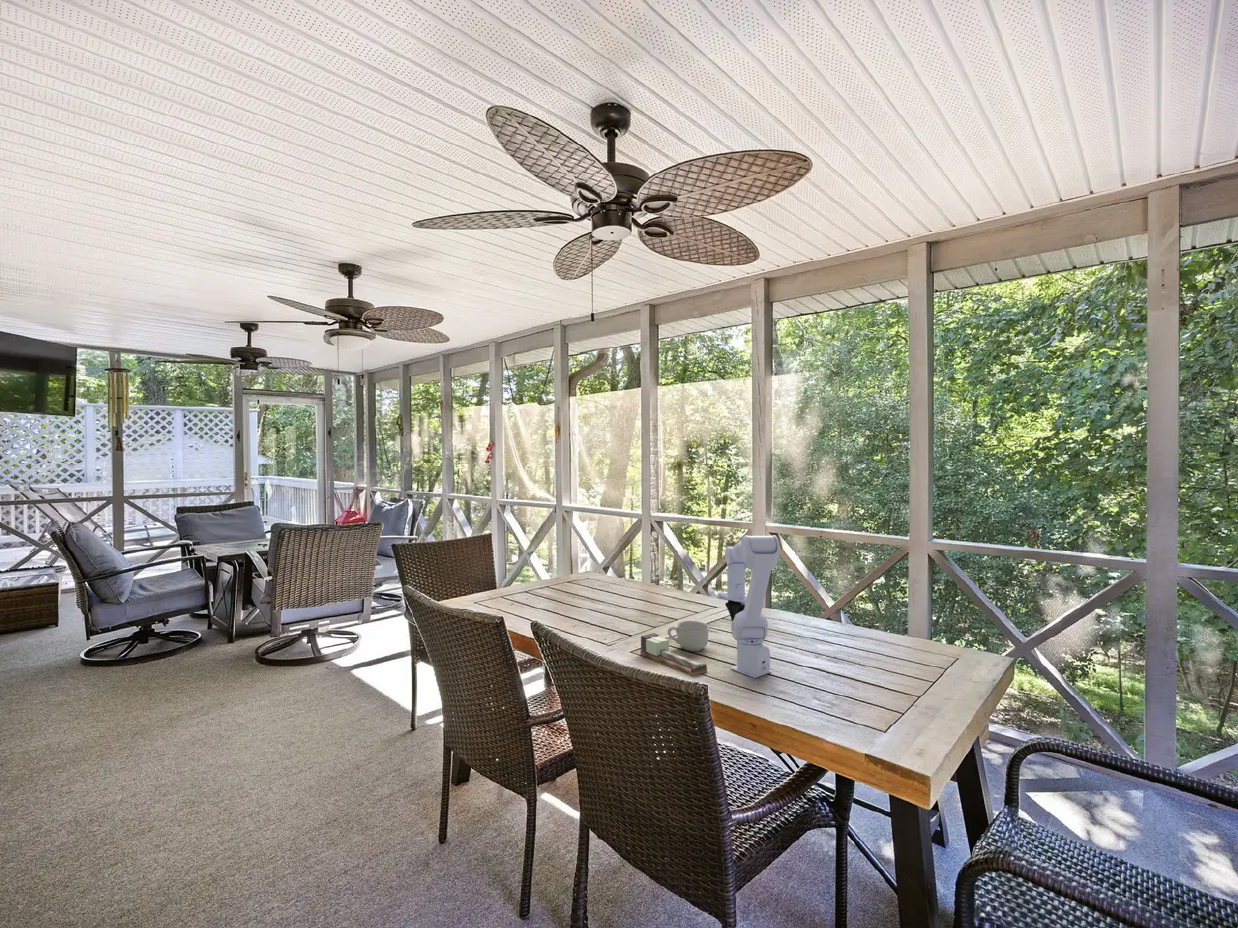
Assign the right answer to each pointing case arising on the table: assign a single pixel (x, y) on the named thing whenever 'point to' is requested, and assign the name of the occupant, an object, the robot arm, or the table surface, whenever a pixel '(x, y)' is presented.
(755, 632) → the robot arm
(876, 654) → the table surface
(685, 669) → the rail
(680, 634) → the teacup
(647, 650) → the carriage
